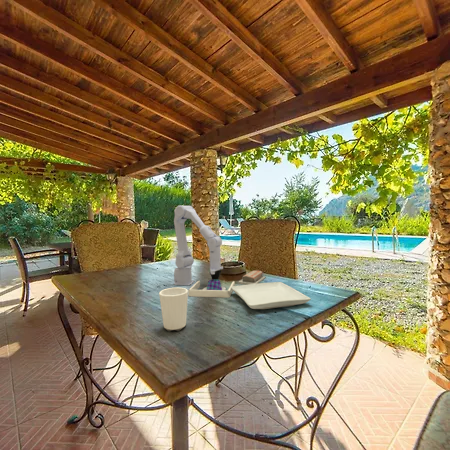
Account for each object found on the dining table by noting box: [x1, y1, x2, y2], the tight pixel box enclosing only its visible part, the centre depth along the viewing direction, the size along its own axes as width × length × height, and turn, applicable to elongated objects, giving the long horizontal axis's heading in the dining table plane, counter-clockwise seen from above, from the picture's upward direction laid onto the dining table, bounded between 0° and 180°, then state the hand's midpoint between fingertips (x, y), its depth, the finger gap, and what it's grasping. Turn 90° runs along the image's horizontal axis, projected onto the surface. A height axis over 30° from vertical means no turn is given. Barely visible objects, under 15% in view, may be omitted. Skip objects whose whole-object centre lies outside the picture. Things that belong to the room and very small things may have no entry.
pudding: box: [202, 278, 227, 291], centre depth 133 cm, size 12×12×5 cm
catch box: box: [187, 280, 236, 299], centre depth 130 cm, size 20×17×3 cm
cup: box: [158, 286, 189, 333], centre depth 90 cm, size 10×10×13 cm
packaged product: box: [238, 270, 266, 285], centre depth 149 cm, size 18×5×10 cm
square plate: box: [231, 281, 312, 310], centre depth 116 cm, size 27×27×4 cm
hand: (215, 284), depth 137 cm, fingers closed
